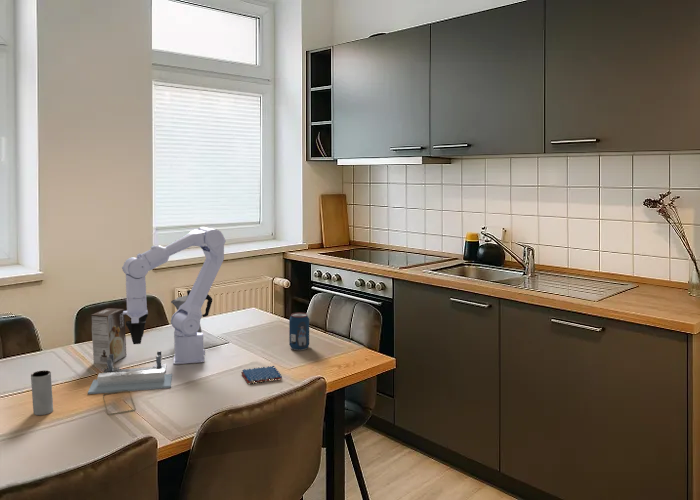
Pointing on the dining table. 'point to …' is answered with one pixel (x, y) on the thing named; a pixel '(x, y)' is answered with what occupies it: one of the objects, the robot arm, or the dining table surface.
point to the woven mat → (261, 374)
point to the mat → (130, 386)
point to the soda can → (299, 331)
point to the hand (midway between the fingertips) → (138, 340)
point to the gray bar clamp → (111, 369)
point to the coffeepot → (181, 300)
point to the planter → (42, 392)
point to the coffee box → (108, 335)
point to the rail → (131, 377)
